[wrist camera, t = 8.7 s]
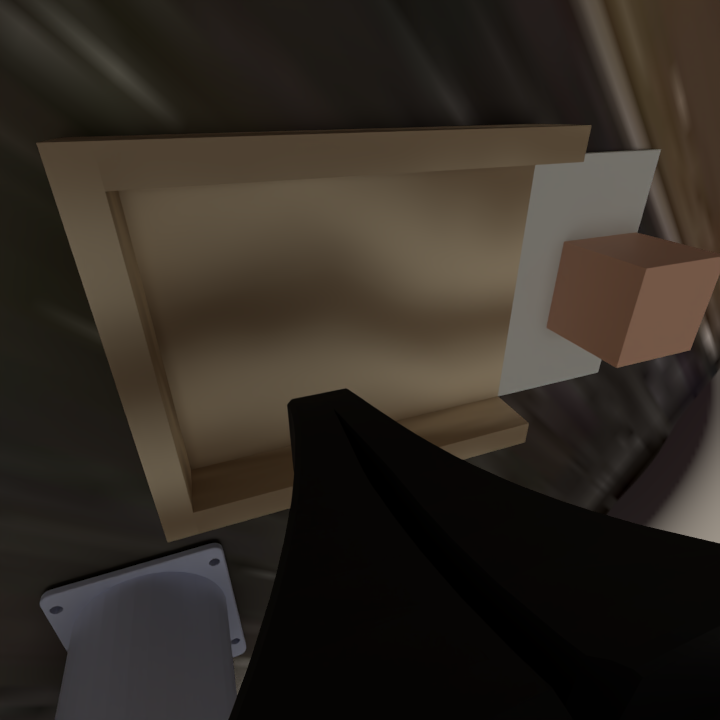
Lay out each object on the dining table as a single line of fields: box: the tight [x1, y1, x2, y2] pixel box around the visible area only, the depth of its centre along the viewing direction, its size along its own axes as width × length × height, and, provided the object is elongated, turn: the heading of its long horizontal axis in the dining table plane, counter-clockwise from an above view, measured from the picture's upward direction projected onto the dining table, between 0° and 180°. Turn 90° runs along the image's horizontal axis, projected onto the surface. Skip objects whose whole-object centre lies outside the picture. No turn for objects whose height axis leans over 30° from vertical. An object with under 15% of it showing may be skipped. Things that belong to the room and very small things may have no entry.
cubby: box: [37, 124, 591, 542], centre depth 18 cm, size 14×17×3 cm
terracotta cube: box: [546, 232, 720, 368], centre depth 21 cm, size 4×4×4 cm
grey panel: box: [498, 149, 661, 396], centre depth 23 cm, size 12×7×1 cm, turn 0°
